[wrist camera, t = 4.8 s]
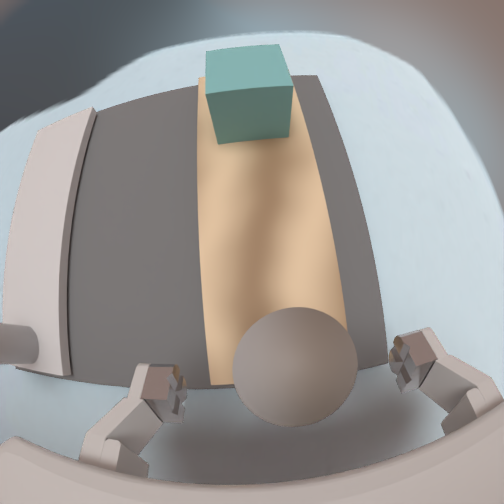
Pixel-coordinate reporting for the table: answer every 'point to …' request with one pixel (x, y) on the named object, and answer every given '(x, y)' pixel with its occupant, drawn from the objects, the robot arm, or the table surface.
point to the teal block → (248, 93)
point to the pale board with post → (43, 249)
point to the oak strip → (271, 275)
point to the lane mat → (183, 241)
